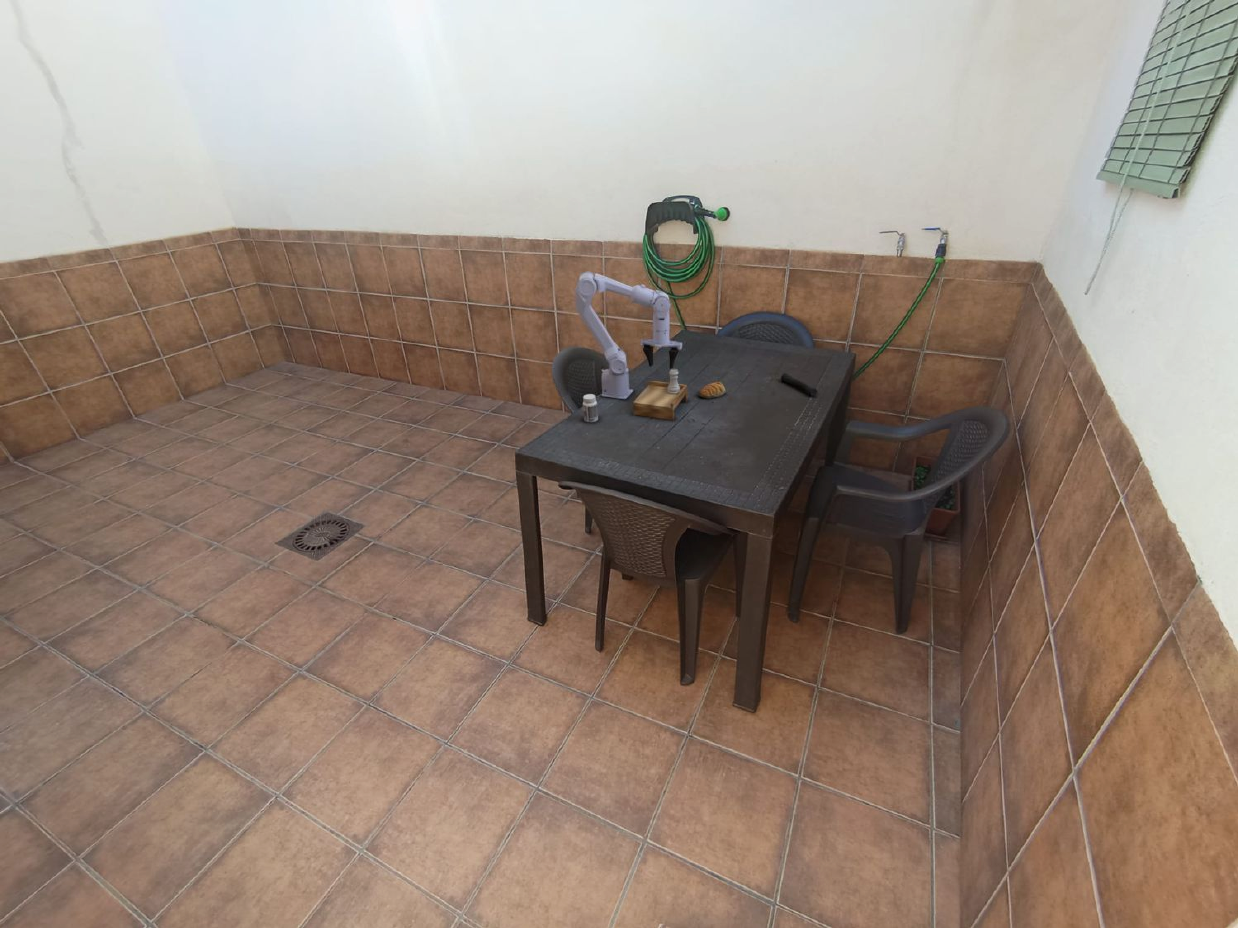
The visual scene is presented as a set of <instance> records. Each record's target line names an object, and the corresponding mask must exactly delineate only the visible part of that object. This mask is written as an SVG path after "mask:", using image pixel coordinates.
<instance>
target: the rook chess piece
mask: <svg viewBox="0 0 1238 928" xmlns="http://www.w3.org/2000/svg"><path fill="white" fill-rule="evenodd" d="M668 373H669V383H670V384H669V386H668V388H667V389H668V390H667V391H668V393H670V394H678V393H679V392H680V387H679V385H678V384H679V381H678V378H679V376H678V375H679V373H680V372H679V370H678V368H672V369H670V370H669V371H668Z"/></svg>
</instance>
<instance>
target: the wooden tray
mask: <svg viewBox="0 0 1238 928" xmlns="http://www.w3.org/2000/svg"><path fill="white" fill-rule="evenodd" d="M669 384H670V382H665V381H659V380H658V381H656V380H649V381H648V386H647V387H646V388H645V389H644V390H643V391H642V392H641V393H640V394H639V395H638V396H637V397H636V398H635V400H634V401H633V402H632V410H633V413H632V414H633V415H634V416H642V417H648V418H655V419H661V420H669V421H674V419H675V409H676V408H677V407H678V405H679V404H680V403H681V402H683V403H687V402H688V384H682V383H678V385H679V387H680V392H679V393H678V394H670V393H668V391H667V390H668V389H667V388H668V386H669Z"/></svg>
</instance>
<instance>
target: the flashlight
mask: <svg viewBox="0 0 1238 928" xmlns="http://www.w3.org/2000/svg"><path fill="white" fill-rule="evenodd" d="M780 380H781V381H783V382H784V383H787V384H790V385H792V386H793V387H796V388H798V389H800V390H801V391H803V392H805V393H807V394H809V395H810V396H812V397H814V396H816V395H817V394H818V390H817V388H816V387H812V386H810V385H808V384H806V383H805V382H802V381H801V380H798V379H797V378H794V377H793V376H792V375H791V374H789V373H786V372H784V373H782V374H781V376H780Z"/></svg>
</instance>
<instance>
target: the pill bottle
mask: <svg viewBox="0 0 1238 928" xmlns="http://www.w3.org/2000/svg"><path fill="white" fill-rule="evenodd" d="M582 398H583V399H582V400H583V402H582V410H583V420H584V422H586V423H595V422H597V421H598V420H599V412H598V411H599V410H598V402H597V400H596V399H597V398H596V395H595V394H593V393H587V394H584V395H583V397H582Z"/></svg>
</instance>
